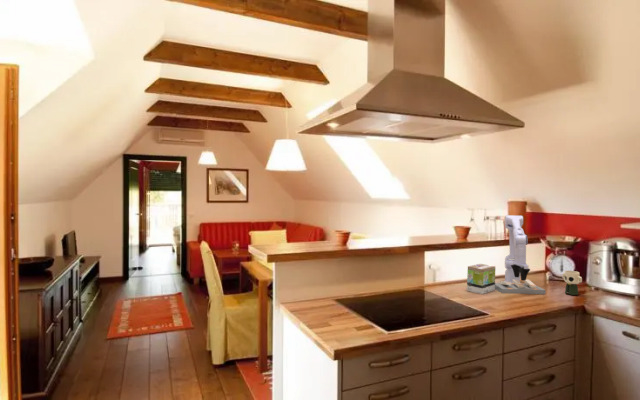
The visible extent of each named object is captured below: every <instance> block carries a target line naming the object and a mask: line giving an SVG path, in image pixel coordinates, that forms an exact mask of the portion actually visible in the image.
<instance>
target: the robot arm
mask: <svg viewBox="0 0 640 400" xmlns="http://www.w3.org/2000/svg"><path fill="white" fill-rule="evenodd" d="M523 225H524V216H523V215H513V214H511V215H509V214H506V215H505V216H504V226H505V229H507V230H508V234H509V240H508V241H509V243H508V244H509V253H508V255H507V256H505V257H504V268H505V269H506V270H505V271H504V282H511V283H513V282H512V279H517V280H518V281H519V282H521V281H524V280H527V277H528V274H529V272H530V271H531V269H530V268H529V265H528V264H527V245H528V235H527V234H525V231H524V229H523V228H522V227H523Z"/></svg>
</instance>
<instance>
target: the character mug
mask: <svg viewBox="0 0 640 400" xmlns="http://www.w3.org/2000/svg"><path fill="white" fill-rule="evenodd" d="M561 278H562V279H563V281H564V282H565V283H566V284H565V285H566V286H565V290H564V292H565V294H568V295H570V296H572V295H573V296H576V295H579V289H578V284H580V283H582V282H583V278H582V276H580V272H579V271H577V270H576V271H575V270H564V272H563V273H562V275H561Z"/></svg>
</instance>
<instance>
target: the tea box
mask: <svg viewBox="0 0 640 400" xmlns="http://www.w3.org/2000/svg"><path fill="white" fill-rule="evenodd" d="M466 275H467V277H466V291H467V292H471V293H475V294H479V295H484V294H488V293H489V292H493V291H495V290H496V289H495V283H496V266H495V265H489V264H483V263H477V264H473V265H469V266H468V265H467V273H466Z"/></svg>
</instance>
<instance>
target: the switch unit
mask: <svg viewBox="0 0 640 400" xmlns="http://www.w3.org/2000/svg"><path fill="white" fill-rule="evenodd" d="M521 283H522V282H521ZM522 284H523V285H524V288H518V287H517V286H516V285H515V284H514V283H511V285H505V284H500V282H495V290H496V291H497V292H499V293H501V294H514V295H515V294H518V295H519V294H521V295H523V294H524V295H546V289H545V288H542V287H540V286H538V285H536V288H531V287H529V286H528V285H527V284H526V283H525V282H524V283H522Z"/></svg>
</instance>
